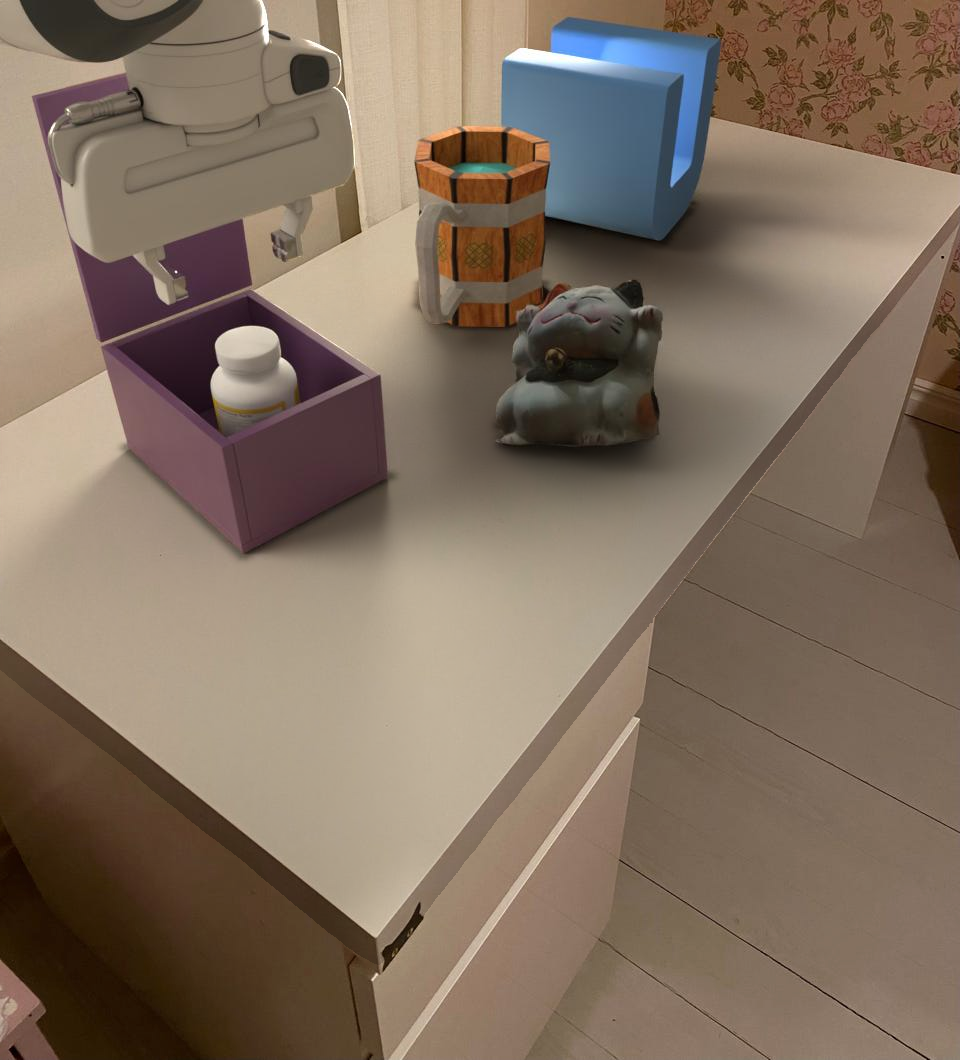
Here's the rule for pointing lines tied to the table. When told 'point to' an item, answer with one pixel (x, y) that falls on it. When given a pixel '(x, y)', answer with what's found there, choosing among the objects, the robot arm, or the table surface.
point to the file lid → (125, 285)
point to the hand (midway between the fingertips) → (232, 277)
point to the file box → (260, 450)
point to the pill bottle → (251, 379)
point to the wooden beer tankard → (480, 224)
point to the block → (616, 120)
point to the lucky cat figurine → (584, 369)
